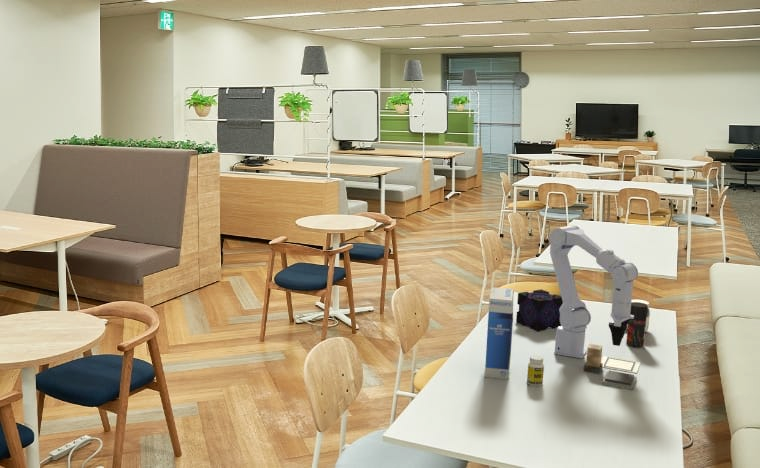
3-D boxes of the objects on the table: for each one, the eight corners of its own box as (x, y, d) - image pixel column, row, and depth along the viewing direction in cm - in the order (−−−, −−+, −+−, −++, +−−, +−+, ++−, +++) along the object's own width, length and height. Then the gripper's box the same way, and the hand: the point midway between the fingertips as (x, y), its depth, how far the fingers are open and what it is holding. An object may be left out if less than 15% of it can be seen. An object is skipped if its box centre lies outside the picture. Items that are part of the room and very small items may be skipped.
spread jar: (643, 337, 266) (646, 307, 263) (612, 331, 272) (615, 301, 269) (651, 328, 276) (654, 299, 273) (621, 323, 282) (624, 294, 279)
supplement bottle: (533, 387, 218) (535, 361, 217) (523, 381, 222) (525, 356, 221) (545, 384, 220) (547, 358, 219) (535, 379, 224) (537, 353, 223)
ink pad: (601, 384, 222) (602, 378, 221) (606, 374, 230) (607, 369, 229) (632, 389, 218) (632, 384, 218) (636, 379, 226) (636, 374, 226)
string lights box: (487, 362, 238) (491, 286, 232) (510, 364, 236) (515, 288, 231) (484, 377, 225) (488, 298, 220) (509, 380, 223) (514, 300, 218)
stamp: (583, 371, 232) (585, 347, 230) (586, 366, 236) (588, 343, 235) (599, 374, 230) (601, 350, 228) (602, 369, 234) (604, 345, 233)
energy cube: (561, 327, 275) (563, 297, 273) (537, 331, 269) (539, 301, 267) (539, 318, 285) (541, 289, 283) (516, 322, 279) (518, 292, 277)
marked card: (598, 366, 236) (598, 365, 236) (603, 356, 245) (603, 355, 245) (636, 373, 231) (636, 372, 231) (640, 363, 240) (640, 362, 240)
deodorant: (644, 348, 254) (648, 307, 251) (627, 346, 255) (631, 306, 252) (642, 342, 260) (646, 302, 257) (625, 341, 261) (628, 301, 258)
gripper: (632, 308, 221) (628, 350, 224) (637, 297, 234) (633, 336, 237) (608, 305, 224) (604, 346, 227) (615, 294, 237) (611, 333, 240)
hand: (617, 341), depth 232 cm, fingers open, 7 cm apart
